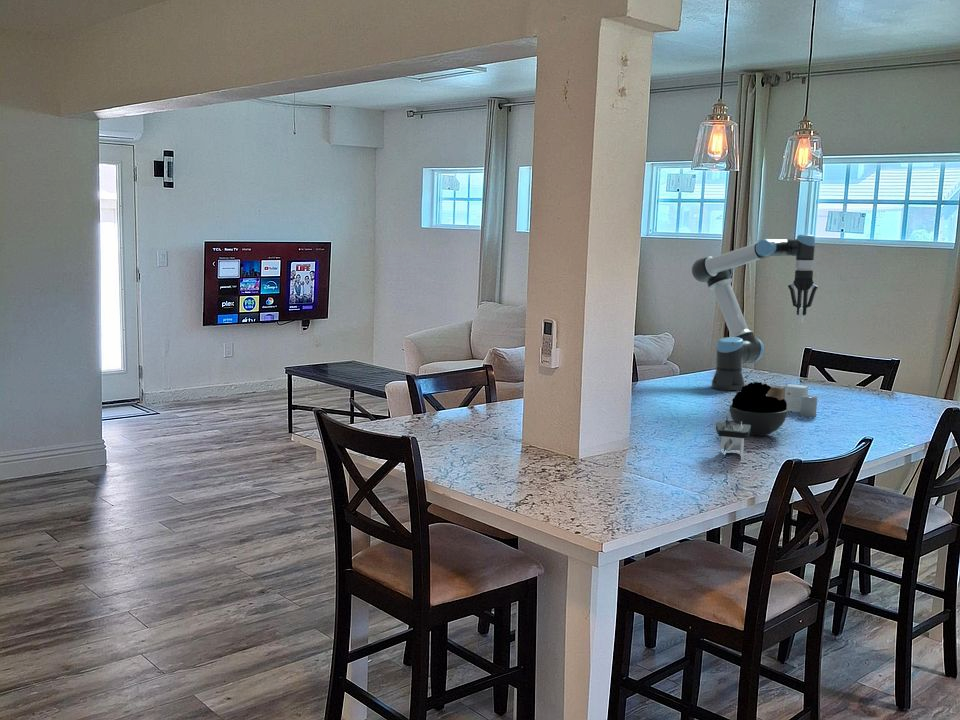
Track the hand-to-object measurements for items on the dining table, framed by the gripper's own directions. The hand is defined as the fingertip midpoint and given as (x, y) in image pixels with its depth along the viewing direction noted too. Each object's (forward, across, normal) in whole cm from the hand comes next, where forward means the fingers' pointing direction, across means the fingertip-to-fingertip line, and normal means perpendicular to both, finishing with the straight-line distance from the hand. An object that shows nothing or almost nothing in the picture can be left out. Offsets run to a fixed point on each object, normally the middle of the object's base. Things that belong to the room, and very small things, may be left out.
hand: (800, 322), depth 405 cm
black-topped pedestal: (+33, -12, +131) cm, 135 cm away
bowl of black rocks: (+33, -10, +94) cm, 100 cm away
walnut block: (+33, 0, +34) cm, 47 cm away
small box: (+33, -10, +41) cm, 53 cm away
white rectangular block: (+32, -17, +49) cm, 61 cm away
